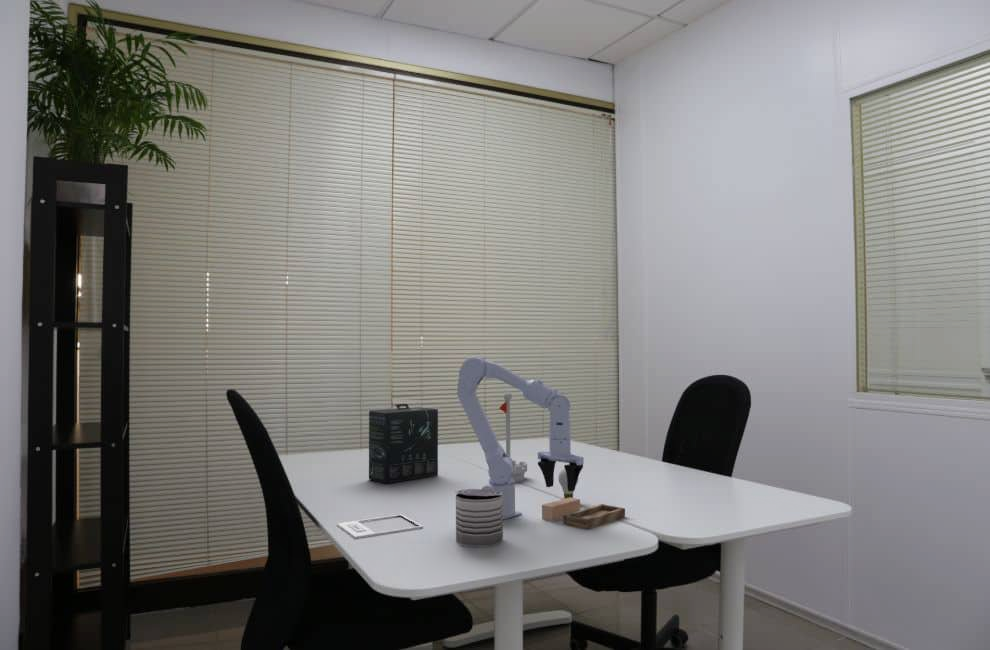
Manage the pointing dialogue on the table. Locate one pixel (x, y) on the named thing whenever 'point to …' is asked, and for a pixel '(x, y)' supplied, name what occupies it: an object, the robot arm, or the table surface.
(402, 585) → the table surface
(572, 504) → the block
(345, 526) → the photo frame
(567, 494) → the light bulb
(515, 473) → the flag stand
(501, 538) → the can
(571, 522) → the wooden tray
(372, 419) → the headset box
